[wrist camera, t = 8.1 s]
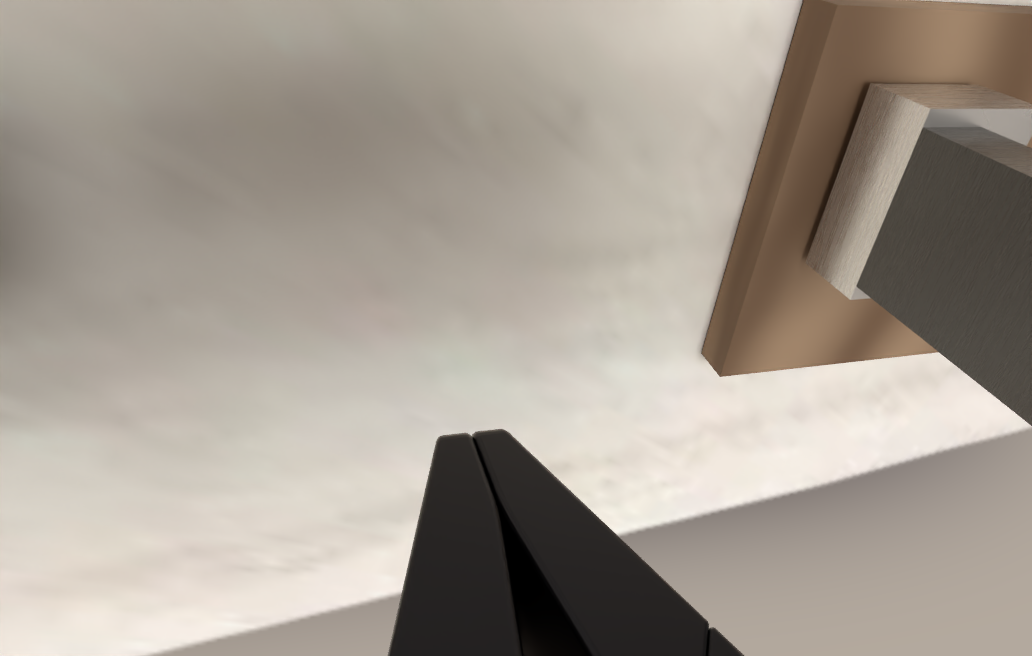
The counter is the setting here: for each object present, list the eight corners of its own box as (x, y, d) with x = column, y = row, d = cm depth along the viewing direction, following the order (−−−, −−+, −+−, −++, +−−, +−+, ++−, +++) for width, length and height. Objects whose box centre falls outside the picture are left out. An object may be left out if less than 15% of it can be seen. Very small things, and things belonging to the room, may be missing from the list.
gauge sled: (792, 297, 24) (1048, 531, 16) (870, 83, 20) (1269, 251, 12) (919, 287, 26) (1212, 497, 17) (1015, 85, 21) (1461, 236, 13)
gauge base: (701, 353, 27) (814, 495, 21) (805, -5, 20) (1021, 60, 14) (965, 326, 31) (1125, 442, 25) (1136, 11, 23) (1423, 70, 17)
